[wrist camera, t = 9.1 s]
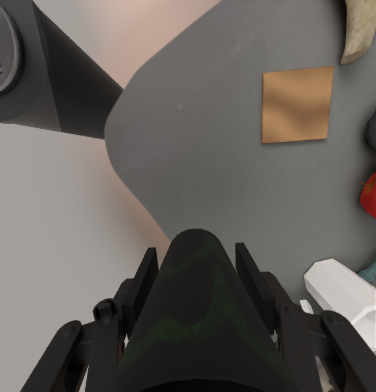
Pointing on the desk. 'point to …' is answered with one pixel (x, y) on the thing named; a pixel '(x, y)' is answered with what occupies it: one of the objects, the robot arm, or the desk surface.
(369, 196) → the apple
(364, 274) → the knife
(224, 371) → the cup
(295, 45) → the desk surface
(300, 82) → the plate
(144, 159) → the desk surface
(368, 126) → the caster wheel
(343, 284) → the mug
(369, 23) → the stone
